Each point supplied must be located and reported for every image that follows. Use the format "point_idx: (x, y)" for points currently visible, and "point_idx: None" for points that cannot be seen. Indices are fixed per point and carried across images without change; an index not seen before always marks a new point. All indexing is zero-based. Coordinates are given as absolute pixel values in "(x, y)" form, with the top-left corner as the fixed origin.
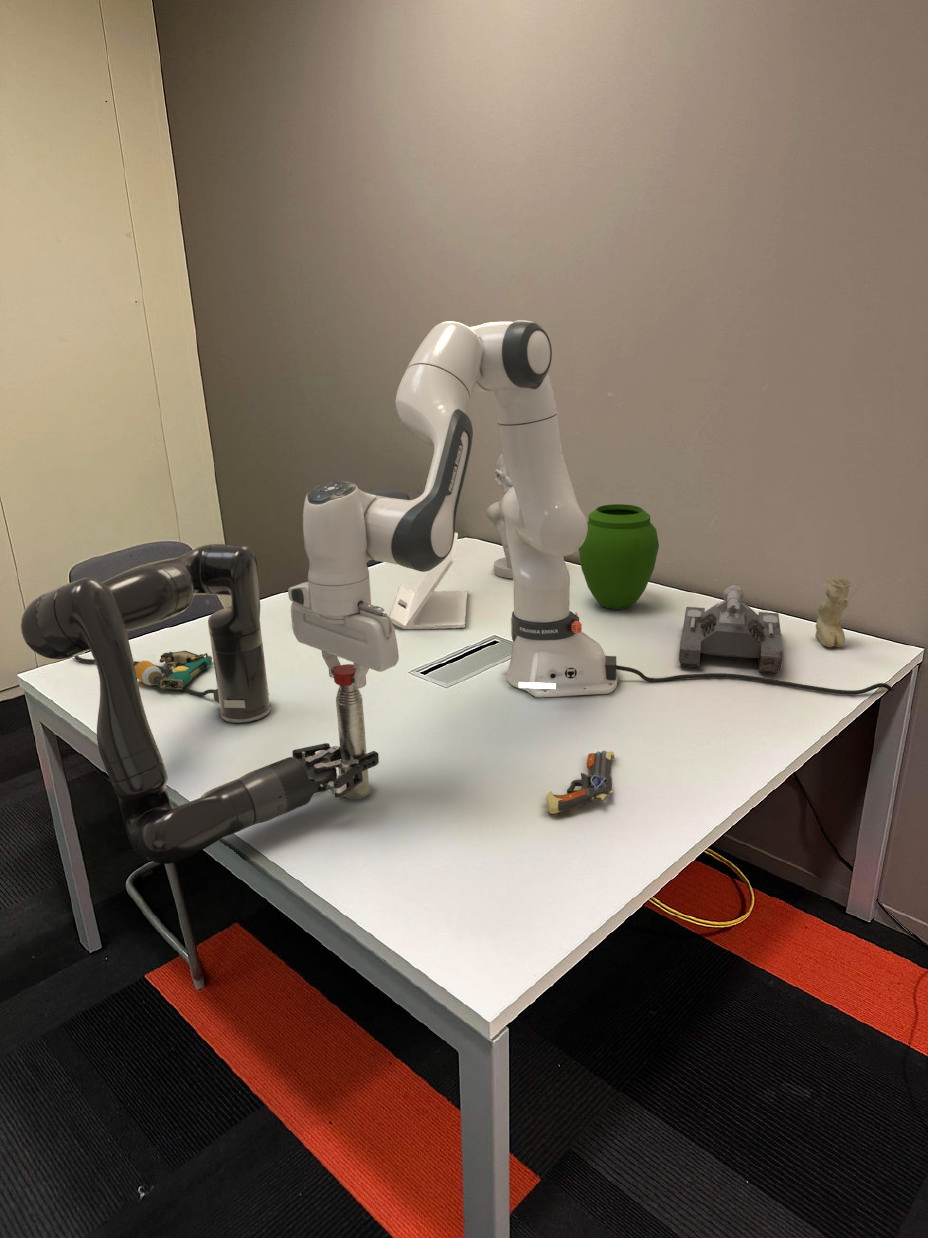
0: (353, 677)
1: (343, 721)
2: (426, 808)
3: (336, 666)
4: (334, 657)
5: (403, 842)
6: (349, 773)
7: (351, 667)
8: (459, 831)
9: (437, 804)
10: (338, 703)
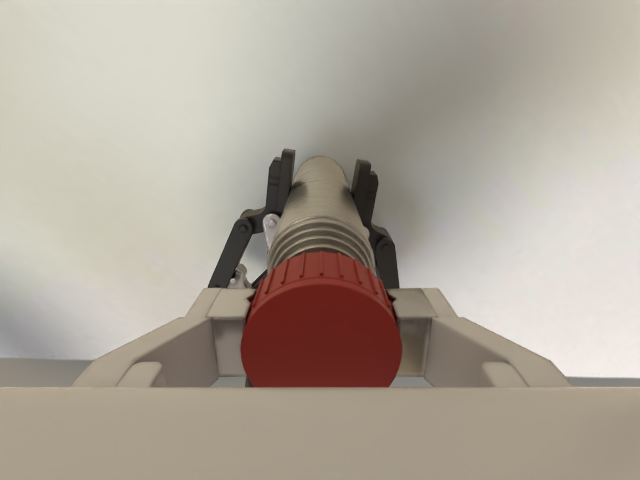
0: (419, 375)
1: None
2: (469, 131)
3: (216, 343)
4: (167, 368)
5: (495, 232)
6: (390, 276)
7: (323, 322)
8: (567, 147)
9: (480, 105)
10: None
